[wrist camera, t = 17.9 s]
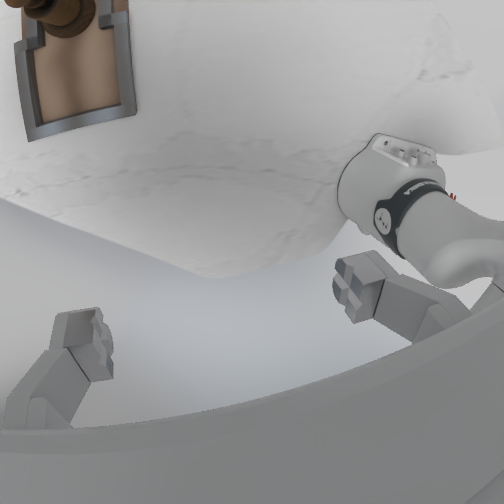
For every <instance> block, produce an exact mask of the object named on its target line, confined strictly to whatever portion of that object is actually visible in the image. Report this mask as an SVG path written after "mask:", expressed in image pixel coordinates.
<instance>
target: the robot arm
mask: <svg viewBox="0 0 504 504" xmlns="http://www.w3.org/2000/svg"><path fill="white" fill-rule="evenodd" d="M385 141H386V142H385ZM384 142H385V144H384ZM455 199H456V196H455V197H454V199H453V193H451V195H450V197H449V196H448V194H447V192H446V191H445V174H444V171H443V169H442V168H441V167H440V166H438V165H437V160H436V154H435V151H434V150H433V149H431V148H430V147H427V146H423V145H420V144H416V143H413V142H410V141H406V140H402V139H399V138H395V137H391V136H387V135H383V134H376V135H375V136H374V137H373V138H372V140H371V141H370V143H369V144H368V146H367V147H366V148H365V149H364V150H363V151H362V152H361V153H359V154H358V155H357V156H356V157H355V158H353V160H352V161H351V162H350V163H349V164H348V166H347V167H346V169H345V170H344V172H343V174H342V177H341V180H340V183H339V187H338V202H339V206H340V208H341V211H342V212H343V214H344V215H345V216H346V217H347V218H348V219H350V220H352V221H353V222H355V223H356V224H357V225H358V228H359V229H360V231H361V232H362V233H364V234H365V235H369V234H370V235H372V236H373V237H374V238H376V239H377V240H378V241H380V242H381V243H382V244H384V245H385V246H386V247H389V248H390V249H391V250H392V251H393V252H394V253H395V254H396V255H398V256H400V257H401V258H403V259H406V260H407V261H408V262H410V263H411V264H412V265H413V266H414V267H415V268H416V269H417V270H418V271H419V272H420V273H421V274H422V275H423V276H424V277H425V278H426V279H427V281H428V282H429V283H431V284H432V285H434V286H436V287H438V288H436V287H434V286H431V285H429V284H426V283H424V282H421V281H419V280H416V279H413V278H411V277H409V276H406V275H404V274H402V275H399V274H398V273H397V272H396V271H395V270H394V269H393V268H392V267H391V266H390V265H389V264H388V263H387V262H386V260H385V259H384V258H382V257H381V255H380V254H379V253H378V252H376V251H374V250H372V251H368V252H364V253H361V254H357V255H353V256H348V257H344V258H339V259H337V261H336V264H335V269H336V271H337V272H338V273H337V274H336V275H335V277H334V278H333V284H332V287H333V292H334V295H335V297H336V299H337V301H338V302H339V303H340V304H342V305H344V306H346V307H345V312H346V314H347V315H348V317H349V318H350V319H351V321H352V322H353V324H355V323H358V322H361V321H365V320H368V319H371V318H373V319H374V320H376V321H378V322H379V323H381V324H382V325H384V326H386V327H388V328H389V329H391V330H393V331H394V332H396V333H397V334H399V335H401V336H402V337H404V338H406V339H407V340H409V341H411V342H412V345H410V346H408V347H406V348H403V349H401V350H399V351H396V352H394V353H392V354H389V355H387V356H384V357H382V358H379V359H377V360H375V361H372V362H369V363H367V364H364V365H362V366H359V367H356V368H353V369H351V370H348V371H345V372H343V373H340V374H337V375H334V376H331V377H328V378H325V379H322V380H319V381H316V382H313V383H310V384H307V385H303V386H300V387H297V388H294V389H290V390H287V391H284V392H280V393H277V394H273V395H270V396H266V397H262V398H258V399H254V400H251V401H247V402H243V403H238V404H235V405H230V406H225V407H221V408H217V409H212V410H207V411H202V412H197V413H192V414H186V415H181V416H175V417H169V418H163V419H156V420H150V421H143V422H135V423H127V424H118V425H109V426H98V427H85V428H73V427H72V426H71V425H70V422H71V420H72V418H73V416H74V414H75V412H76V411H77V409H78V407H79V405H80V403H81V401H82V399H83V397H84V396H85V394H86V392H87V389H88V388H89V386H90V384H91V382H97V381H103V380H110V379H113V361H112V359H111V357H110V356H111V355H112V353H113V341H112V335H111V332H110V329H109V327H108V325H107V324H105V323H104V322H103V314H102V312H101V310H100V308H98V307H94V308H87V309H80V310H73V311H68V312H62V313H58V314H57V315H56V317H55V321H54V326H53V330H52V335H51V340H50V346H49V350H45V351H44V352H43V354H42V355H41V356H40V357H39V358H38V360H37V361H36V362H35V363H34V365H33V366H32V367H31V368H30V369H29V371H28V372H27V373H26V374H25V376H24V377H23V378H22V379H21V381H20V382H19V383H18V384H17V386H16V387H15V388H14V390H13V391H12V392H11V393H10V395H9V396H8V397H7V402H6V408H5V414H4V422H3V429H0V504H504V221H497V220H492V219H488V218H485V217H482V216H480V215H478V214H477V213H475V212H473V211H471V210H470V209H468V208H466V207H464V206H463V205H461V204H459V203H458V202H456V201H455ZM481 277H492V278H493V280H492V283H491V284H490V286H489V287H488V288H487V289H486V291H485V292H484V293H483V295H482V296H481V297H480V298H479V300H478V301H477V302H476V303H475V305H474V306H473V307H472V308H471V309H470V310H468V309H467V307H466V306H465V305H464V304H463V303H462V302H461V301H460V300H459V299H458V298H457V297H456V296H455V295H453V294H450V293H448V292H446V291H443V290H441V289H439V288H443V289H450V288H457V287H460V286H463V285H465V284H467V283H469V282H470V281H472V280H474V279H477V278H481Z"/></svg>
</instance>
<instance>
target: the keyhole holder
mask: <svg viewBox="0 0 504 504" xmlns="http://www.w3.org/2000/svg"><path fill="white" fill-rule="evenodd" d="M94 2H95V6H96V10H95V15H94V18H93V20H92V22H91V24H90V25H89V26H88V27H87V28H86V29H85V30H84V31H83V32H82V33H80V34H78V35H76V36H74V37H71V38H59V37H54V36H52V35H50V34H48V33H47V32H46V31H45V29H44V28H43V25H42V21H38V20H34V19H31V18H29V17H27V16H26V14H25V12H24V6H23V7H21V17H22V40H21V41H18V42H16V43H14V53H15V64H16V73H17V81H18V89H19V95H20V102H21V108H22V114H23V119H24V124H25V129H26V134H27V139H28V142H31V141H34V140H37V139H41V138H44V137H47V136H51V135H54V134H58V133H61V132H65V131H68V130H72V129H76V128H80V127H84V126H88V125H92V124H96V123H101V122H105V121H109V120H114V119H119V118H124V117H129V116H134V115H136V112H137V107H136V99H135V90H134V80H133V70H132V58H131V46H130V31H129V11H128V0H94Z"/></svg>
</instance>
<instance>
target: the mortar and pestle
mask: <svg viewBox="0 0 504 504" xmlns="http://www.w3.org/2000/svg"><path fill="white" fill-rule="evenodd" d="M5 2H6V4H7V5H8V6H10V7H13V8H20V7H23V6H24V12H25V14H26V16H27V17H29V18H31V19H34V20H38V21H42V25H43V28H44V29H45V31H46V32H47V33H48V34H50V35H52V36H54V37H59V38H71V37H74V36H76V35H78V34H80V33H82V32H83V31H84V30H85V29H86V28H87V27H88V26H89V25H90V24H91V22H92V20H93V18H94V15H95V10H96V6H95V2H94V0H5Z"/></svg>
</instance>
